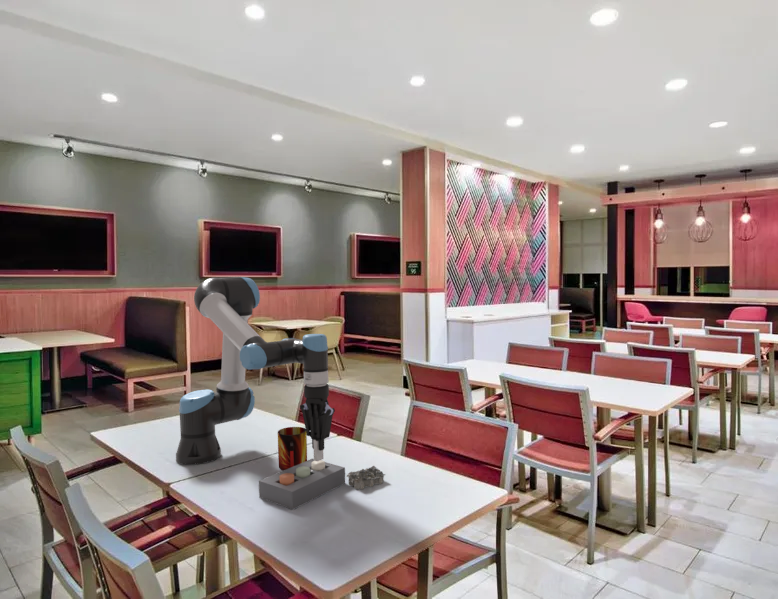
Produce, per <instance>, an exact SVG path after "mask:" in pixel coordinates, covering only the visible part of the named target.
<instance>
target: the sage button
mask: <svg viewBox="0 0 778 599" xmlns="http://www.w3.org/2000/svg"><path fill="white" fill-rule="evenodd" d="M296 476H297V477H300V478H305V477H307V476H310V468H309V467H306V466H303V467H298V468H297V469H296Z"/></svg>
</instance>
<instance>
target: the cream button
mask: <svg viewBox="0 0 778 599" xmlns="http://www.w3.org/2000/svg"><path fill="white" fill-rule="evenodd" d="M325 462H326V460H324V459H322V460H320V461H313V462H312V463H311V468H312V470H315V471H321V470H323V469H325Z"/></svg>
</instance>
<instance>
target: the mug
mask: <svg viewBox="0 0 778 599" xmlns="http://www.w3.org/2000/svg"><path fill="white" fill-rule="evenodd" d="M307 437H308V436H307V433H306V428H305V427H303V426H288V427H287V426H286V427H284V428H281V429H279V430H277V450H278V451H277V452H278V454H277V456H278V460H277V462H278V468H279V470H281V471H284V470H286V469H288V468H291V467H293V466H296V465H298V464H301V463H303V462H305V461H308V440H307V439H308V438H307Z"/></svg>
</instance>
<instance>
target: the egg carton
mask: <svg viewBox="0 0 778 599" xmlns="http://www.w3.org/2000/svg"><path fill="white" fill-rule="evenodd" d="M385 476H386V473H384V472H383V471H381V469H379V468H377V467H376V466H375V465H372V466H371V467H368V468H365V469H364V468H362V469H360V470H357V471H349V473H348V474H346V478H347V477H348V485H349V486H351V487H352V486H353V488H354V489H355V490H364V489H365V488H366V487H370V488H371V487H374V485H376V484H377V485H382V484H383V482H384V477H385Z"/></svg>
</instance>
